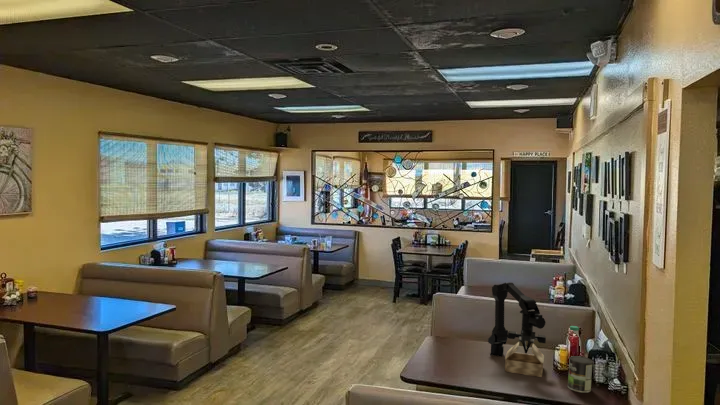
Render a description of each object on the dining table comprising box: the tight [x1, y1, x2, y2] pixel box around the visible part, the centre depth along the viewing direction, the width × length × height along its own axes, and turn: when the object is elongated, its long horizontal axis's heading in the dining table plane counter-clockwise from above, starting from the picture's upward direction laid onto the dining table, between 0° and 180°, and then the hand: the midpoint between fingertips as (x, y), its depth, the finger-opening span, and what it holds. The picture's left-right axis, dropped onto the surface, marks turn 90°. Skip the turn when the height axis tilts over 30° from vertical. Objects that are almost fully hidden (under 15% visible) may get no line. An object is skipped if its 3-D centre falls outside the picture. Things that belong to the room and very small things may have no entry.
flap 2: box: [530, 343, 545, 365], centre depth 274 cm, size 8×15×1 cm
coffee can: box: [567, 356, 594, 394], centre depth 252 cm, size 10×10×14 cm
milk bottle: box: [565, 325, 582, 353], centre depth 291 cm, size 8×8×20 cm
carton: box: [504, 351, 544, 378], centre depth 277 cm, size 18×16×6 cm
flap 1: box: [504, 341, 520, 360], centre depth 279 cm, size 8×15×1 cm
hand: (525, 353), depth 276 cm, fingers closed
